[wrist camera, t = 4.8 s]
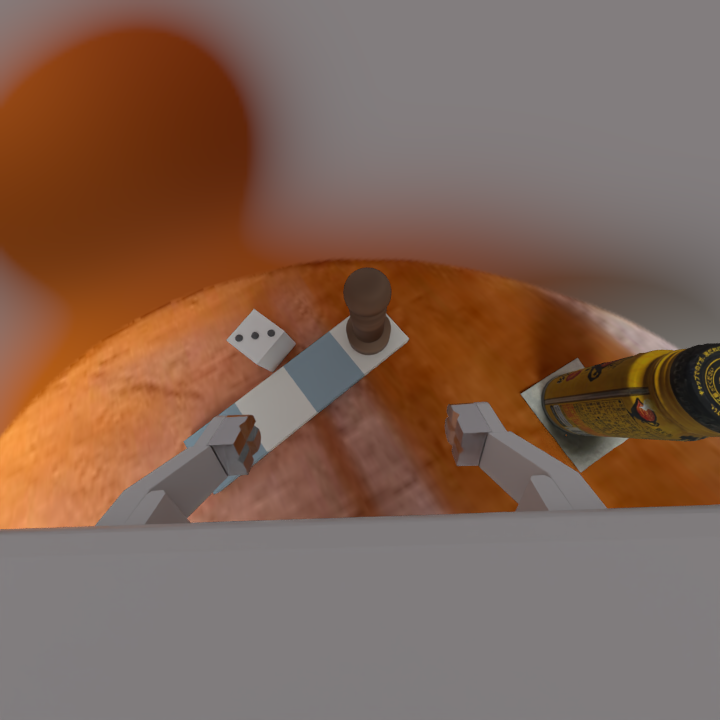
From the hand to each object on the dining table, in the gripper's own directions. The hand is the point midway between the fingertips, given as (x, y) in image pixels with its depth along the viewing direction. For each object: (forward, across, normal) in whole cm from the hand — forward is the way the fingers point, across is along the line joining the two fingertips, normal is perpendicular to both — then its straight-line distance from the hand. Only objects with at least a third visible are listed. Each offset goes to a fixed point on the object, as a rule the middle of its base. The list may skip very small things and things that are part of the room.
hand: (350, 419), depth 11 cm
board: (+13, -6, -8) cm, 17 cm away
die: (+17, -10, -5) cm, 20 cm away
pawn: (+16, +1, -4) cm, 17 cm away
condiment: (+11, +21, -12) cm, 26 cm away
